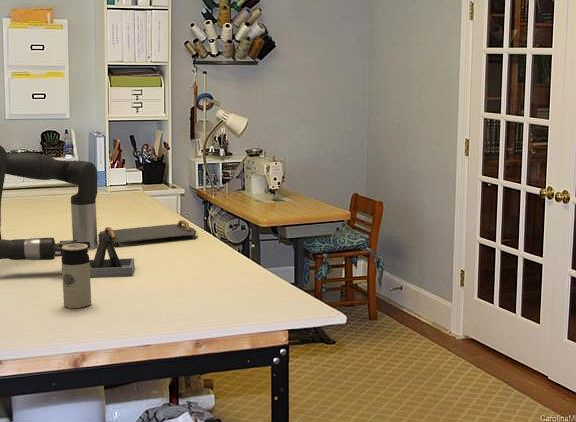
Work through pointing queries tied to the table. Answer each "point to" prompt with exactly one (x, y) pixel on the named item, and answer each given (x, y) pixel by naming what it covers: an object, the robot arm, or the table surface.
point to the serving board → (150, 232)
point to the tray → (113, 269)
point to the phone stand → (101, 253)
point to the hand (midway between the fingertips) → (88, 247)
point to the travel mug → (76, 276)
